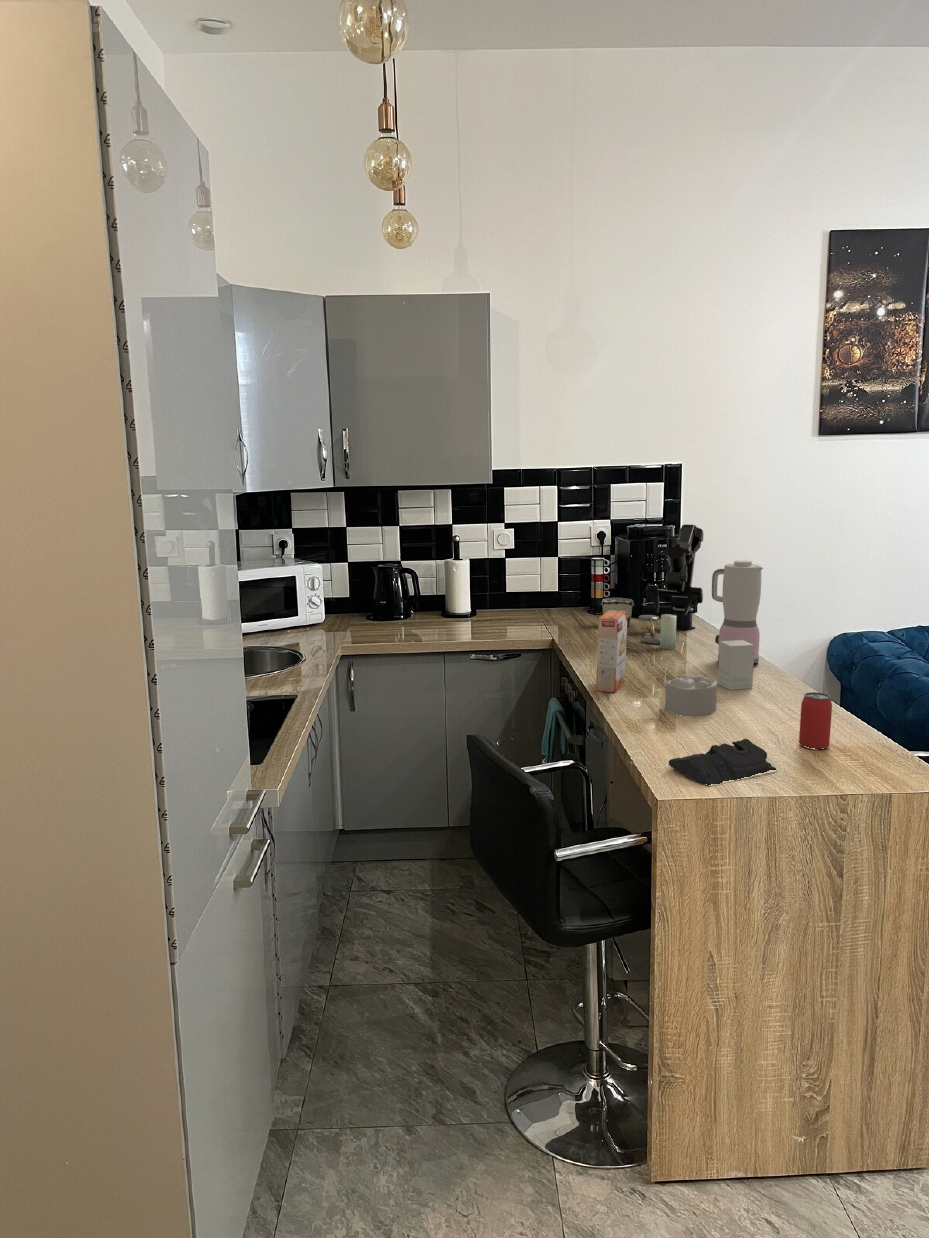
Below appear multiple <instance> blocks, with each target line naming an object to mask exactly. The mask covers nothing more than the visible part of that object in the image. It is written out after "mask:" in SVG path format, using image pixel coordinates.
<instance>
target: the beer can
mask: <svg viewBox="0 0 929 1238" xmlns="http://www.w3.org/2000/svg"><path fill="white" fill-rule="evenodd" d="M803 696H804V697H803V699H802V701H801V705H800V717H799V719H800V720H799V734H798V738H799V739H798V744H799V743H800V744H801V745H802V746H806V747H809V748H815V749H822V748H826V749H828V748H829V747H830V740H831V728H832V727H831V725H832V715H833V713H832V712H833V711H832V710H833V703H832V700H831V695H829V694H828V693H825V692H824V693H823V692H818V691H817V692H816V691H813V692H810V691H809V692H805V693H804V695H803ZM800 744H799V745H800ZM801 745H800V746H801ZM802 746H801V747H802ZM827 747H828V748H827Z"/></svg>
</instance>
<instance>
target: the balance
mask: <svg viewBox="0 0 929 1238" xmlns="http://www.w3.org/2000/svg"><path fill="white" fill-rule="evenodd" d="M638 620H640V621H645V622H646V621H647V622H649V624H650V626H649V627H650V632H645V633H644V636H643V638H642V641H643V643H644V644H647V643H649V644H648V645H656V646H657V645H659V646H660V633H658V632H656V631H655V628H656V627H655V625H654V622H655V621H656V622H657V621H659V620H660V616H658V615H653V614H642V615H639V616H638Z"/></svg>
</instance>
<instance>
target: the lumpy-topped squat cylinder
mask: <svg viewBox="0 0 929 1238" xmlns="http://www.w3.org/2000/svg"><path fill="white" fill-rule="evenodd" d="M717 695H718V681H716V680H714V679H711V678H710V677H705V676H704V675H701V674H700V675H699V674H698V675H695V676H690V675H688V674H686V673H685V674H680V675H679V677H676V678H673V679H669V680H667V681H666V682H665V699H664V701H665V702H664V710H665V709H666V710H665V711H667V710H668V712H670V711H671V712H670V713H673V712H674V713H673V714H675V715H676V714H677V715H676V716H679V715H682V716H681V717H684V716H693V717H699V716H698V715H702V716H707V715H712V714H714V713H715V712H716V711H717V700H718V699H717V698H718V697H717Z"/></svg>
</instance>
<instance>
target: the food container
mask: <svg viewBox="0 0 929 1238" xmlns="http://www.w3.org/2000/svg"><path fill="white" fill-rule="evenodd" d="M600 606H602V615H604V614H605V613H606V612H607V611H609V610H614V611H626V612H628V615H627V626H630V627H631V620H632V619H631V618H632V613H633V612H632V611H633V607H635V603H634V600H633V599H629V598H623V597H607V598H603V599H602V601H600Z"/></svg>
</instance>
